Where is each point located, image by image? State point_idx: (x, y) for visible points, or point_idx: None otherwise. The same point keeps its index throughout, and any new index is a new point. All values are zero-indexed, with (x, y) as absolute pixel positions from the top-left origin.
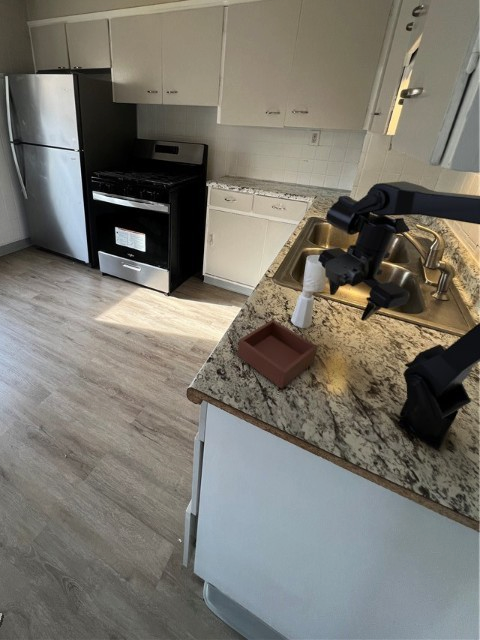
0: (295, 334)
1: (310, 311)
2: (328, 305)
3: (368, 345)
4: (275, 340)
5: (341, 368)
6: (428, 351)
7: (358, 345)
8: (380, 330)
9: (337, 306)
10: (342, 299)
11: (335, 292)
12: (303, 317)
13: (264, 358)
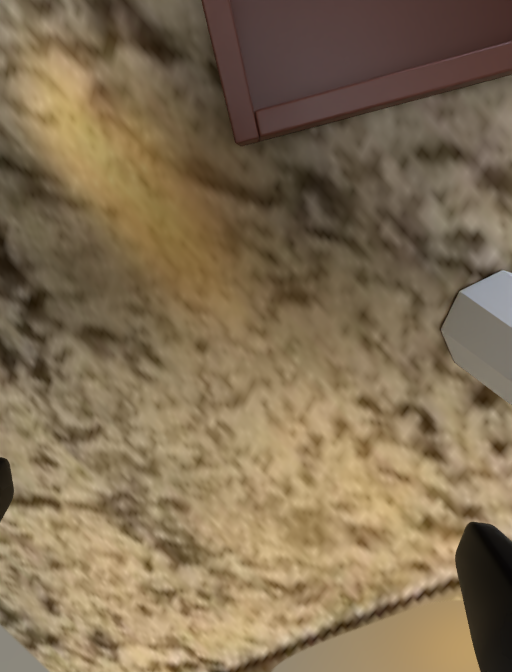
0: (406, 78)
1: (505, 370)
2: None
3: (217, 464)
4: (481, 30)
5: (152, 245)
6: None
7: (234, 431)
8: (261, 565)
9: None
10: None
11: (465, 588)
12: (502, 315)
13: None
